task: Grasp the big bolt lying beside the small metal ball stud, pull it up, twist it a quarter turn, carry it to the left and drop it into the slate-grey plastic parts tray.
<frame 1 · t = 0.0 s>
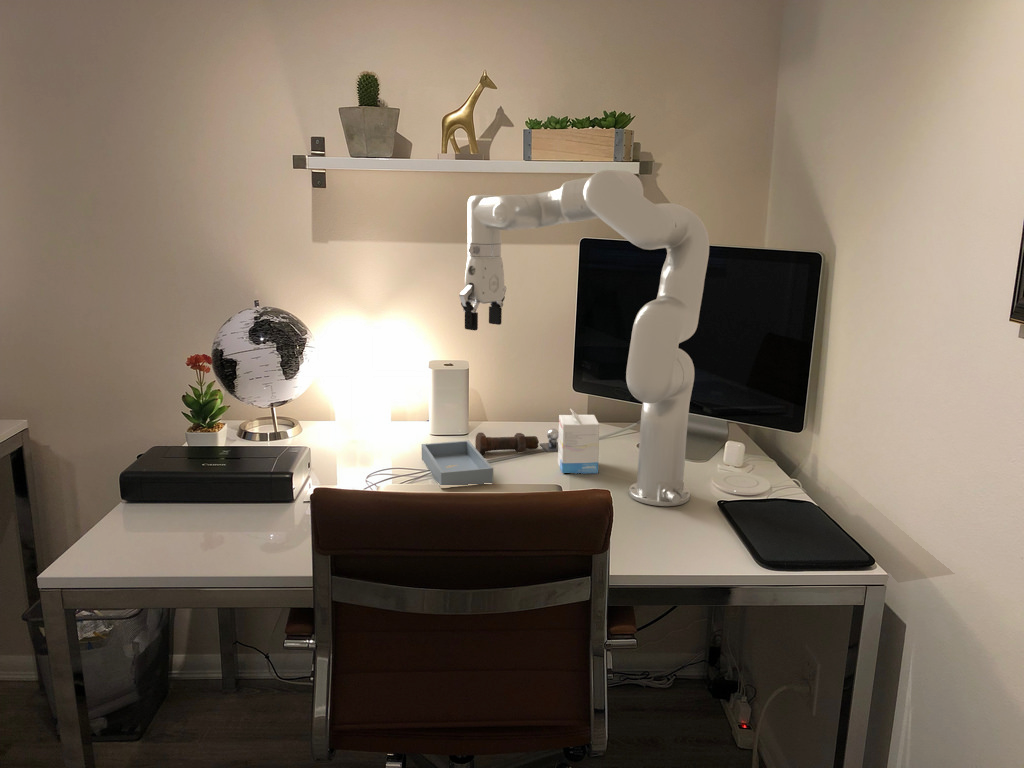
hand: (483, 326, 190), 31 cm above the table, tool pointing down, fingers open, 9 cm apart
ink box: (577, 468, 191), on the table
bolt: (507, 453, 201), on the table
parts tray: (455, 470, 187), on the table
ball stud: (552, 448, 204), on the table
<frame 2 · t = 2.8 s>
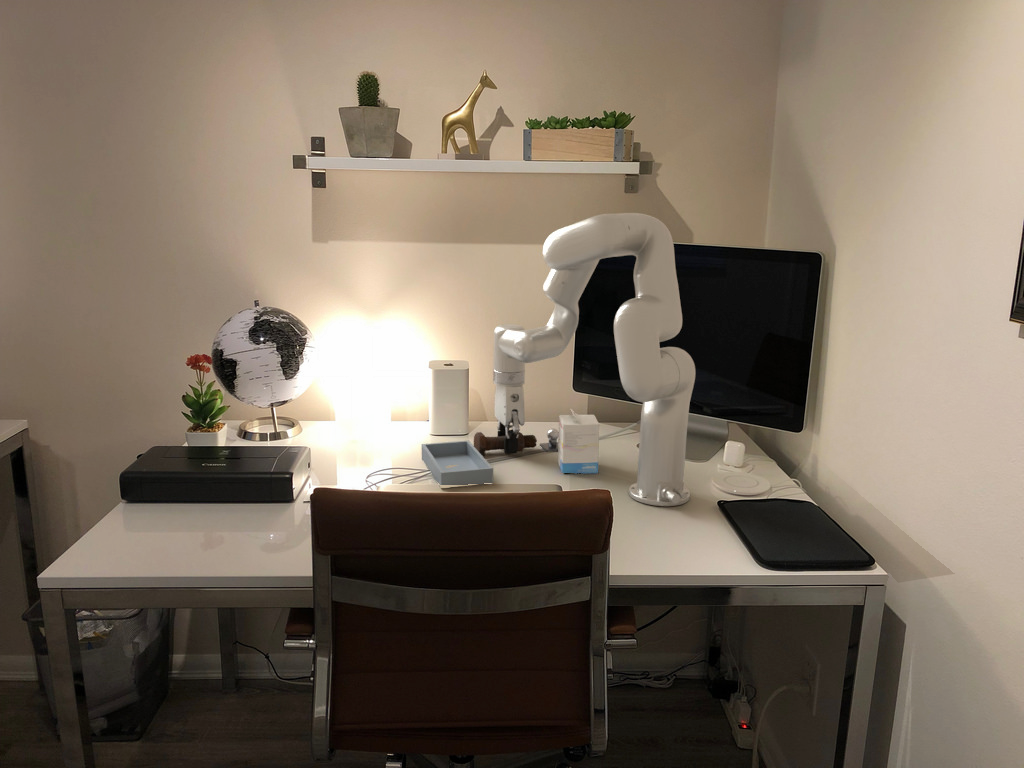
hand: (507, 449, 201), 1 cm above the table, tool pointing down, fingers closed on bolt, 4 cm apart
bolt: (506, 452, 201), on the table, touching gripper
everything else where it was.
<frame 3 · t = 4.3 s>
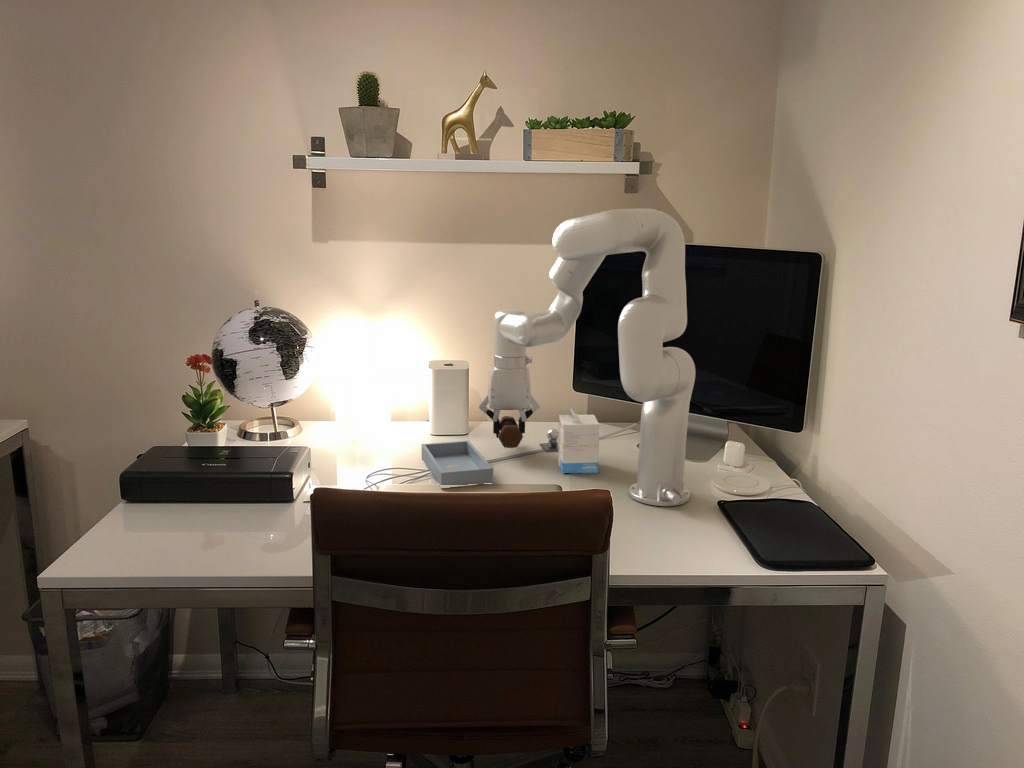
hand: (509, 435, 200), 4 cm above the table, tool pointing down, fingers closed on bolt, 4 cm apart
bolt: (509, 439, 200), point 3 cm above the table, touching gripper
everything else where it was.
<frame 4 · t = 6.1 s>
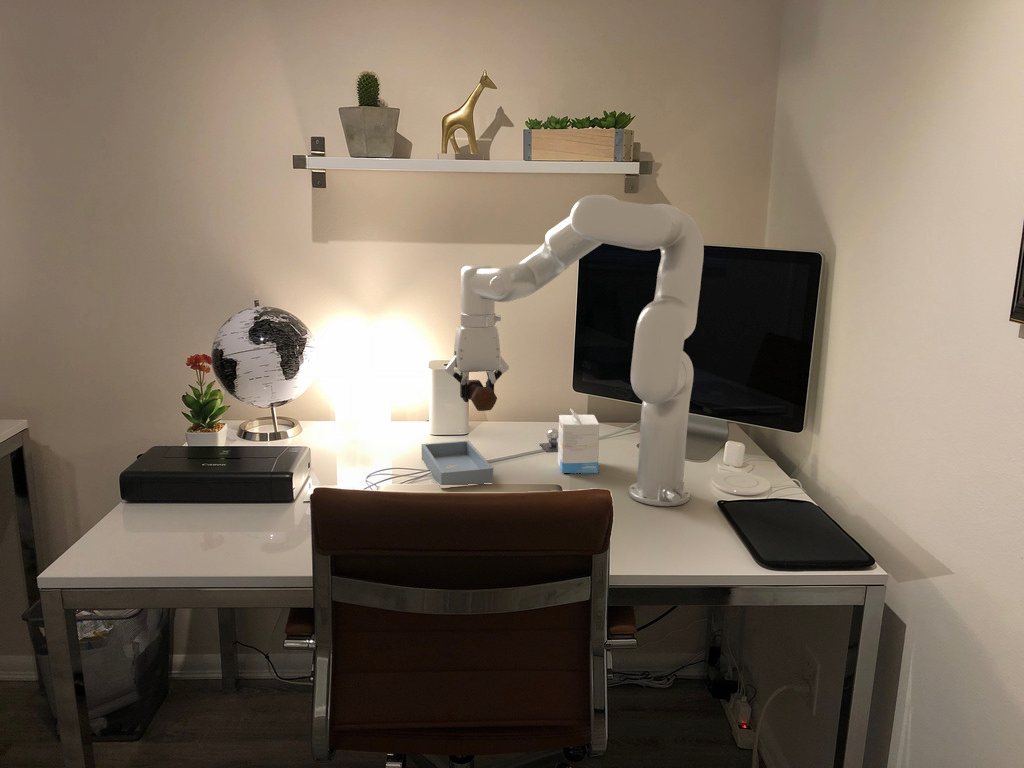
hand: (477, 399, 189), 15 cm above the table, tool pointing down, fingers closed on bolt, 4 cm apart
bolt: (477, 403, 189), point 15 cm above the table, touching gripper
everything else where it was.
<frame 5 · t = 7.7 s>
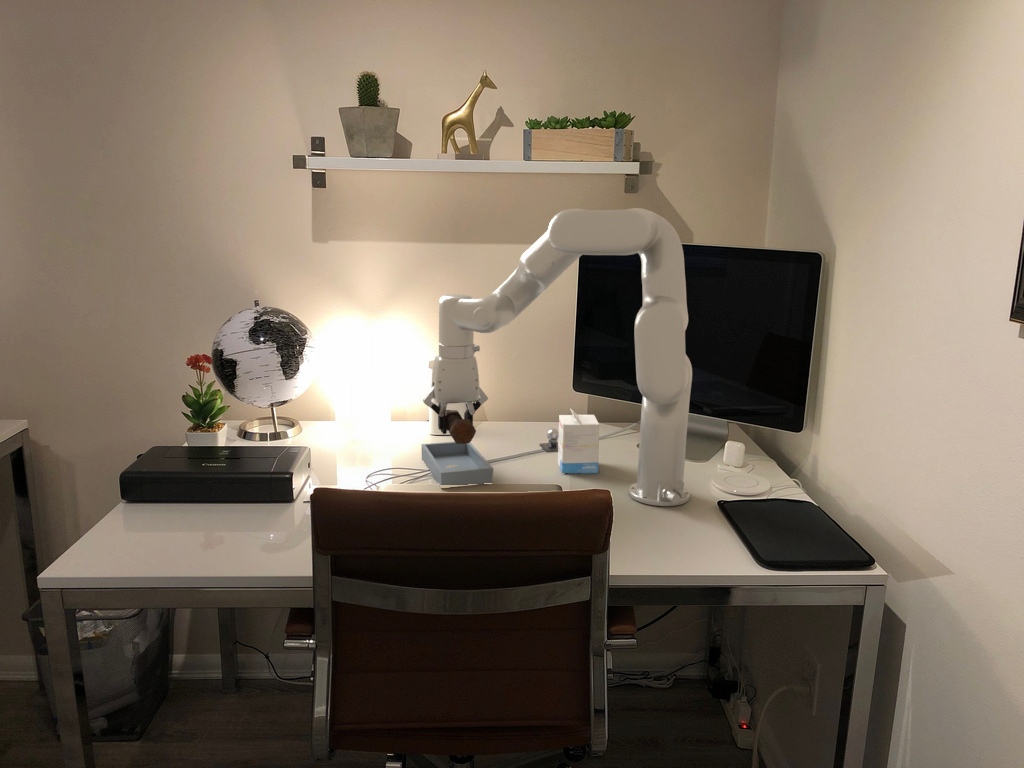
hand: (455, 430, 185), 9 cm above the table, tool pointing down, fingers closed on bolt, 4 cm apart
bolt: (455, 434, 185), point 9 cm above the table, touching gripper
everything else where it was.
when the fingers open (3 cm above the table, at t = 9.1 s): bolt drops 2 cm, resting on parts tray.
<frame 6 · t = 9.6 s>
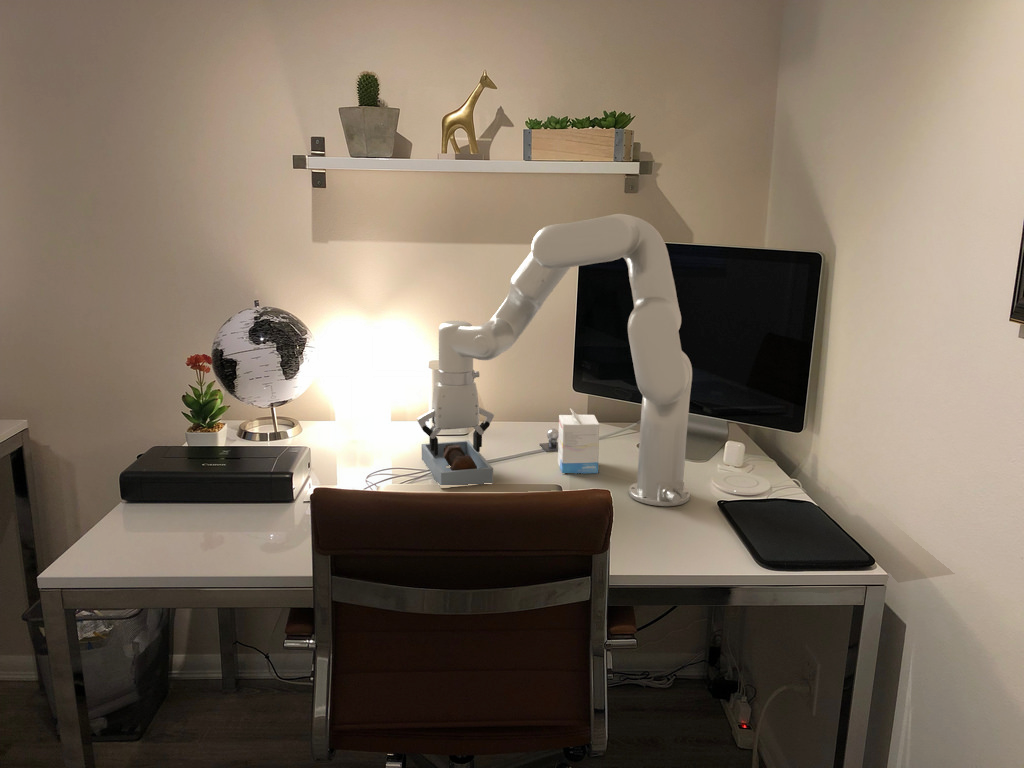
hand: (455, 451, 186), 4 cm above the table, tool pointing down, fingers open, 9 cm apart
bolt: (457, 469, 187), resting on parts tray
everything else where it was.
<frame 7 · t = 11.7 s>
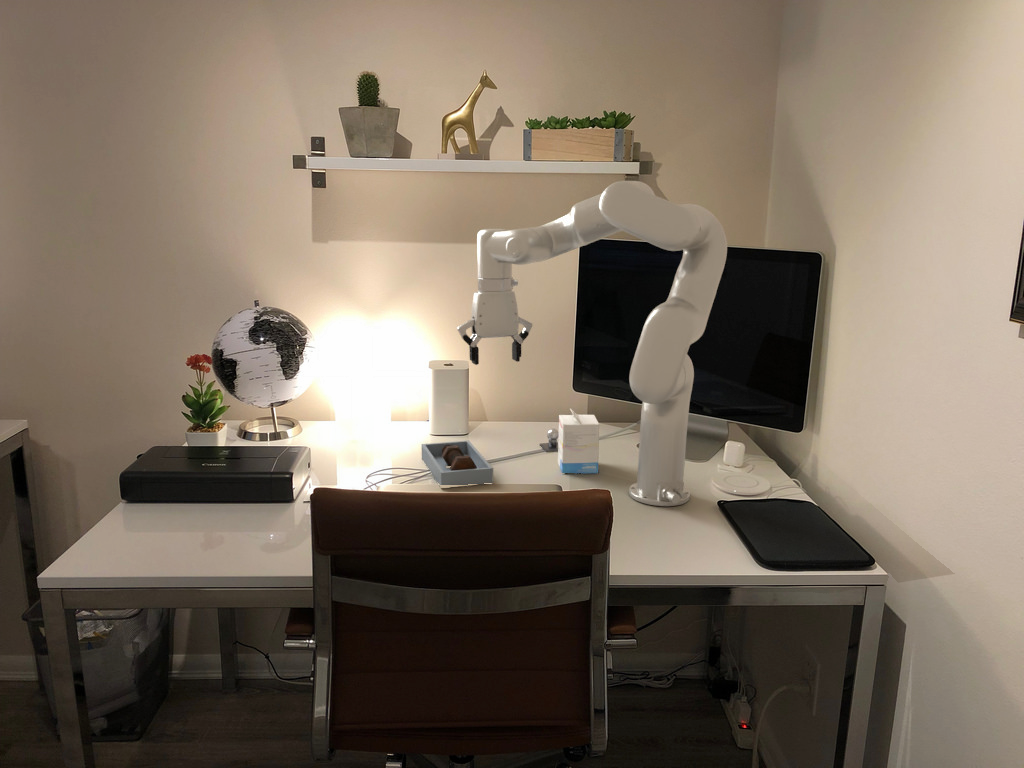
hand: (495, 362, 186), 24 cm above the table, tool pointing down, fingers open, 9 cm apart
nothing on the table moved.
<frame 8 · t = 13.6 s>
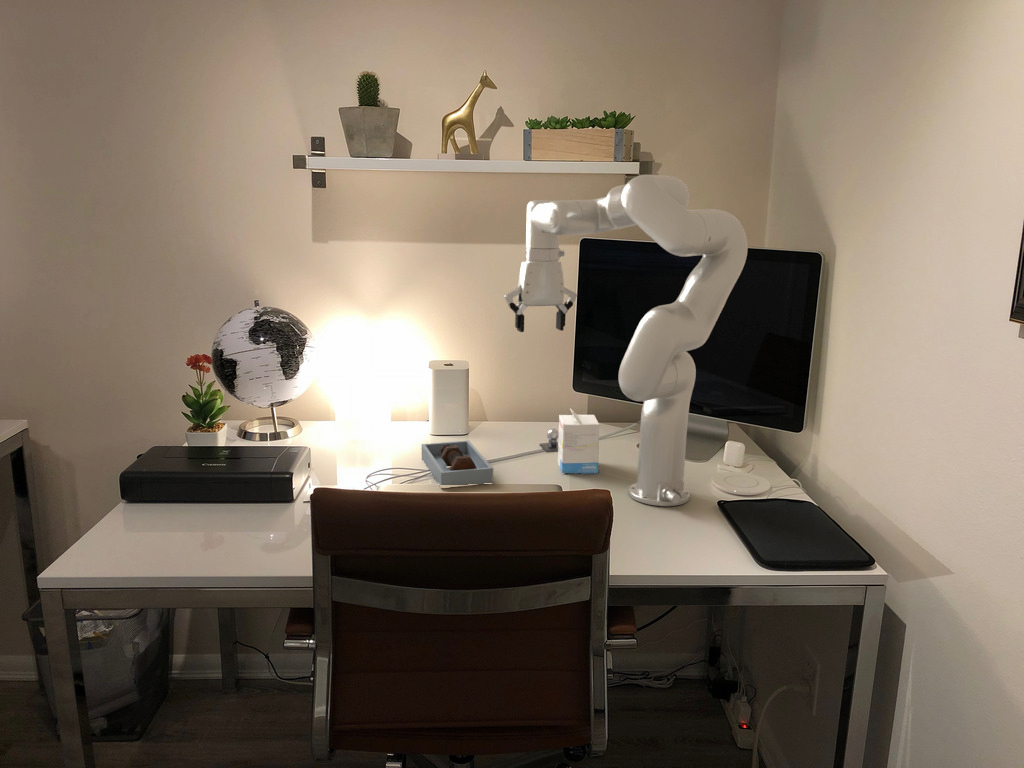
hand: (540, 330, 192), 30 cm above the table, tool pointing down, fingers open, 9 cm apart
nothing on the table moved.
at the end: bolt inside the target area on the parts tray (0.7 cm from its centre), point 0.4 cm above the parts tray's base; the gripper is holding nothing; bolt moved 18.9 cm from its start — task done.
